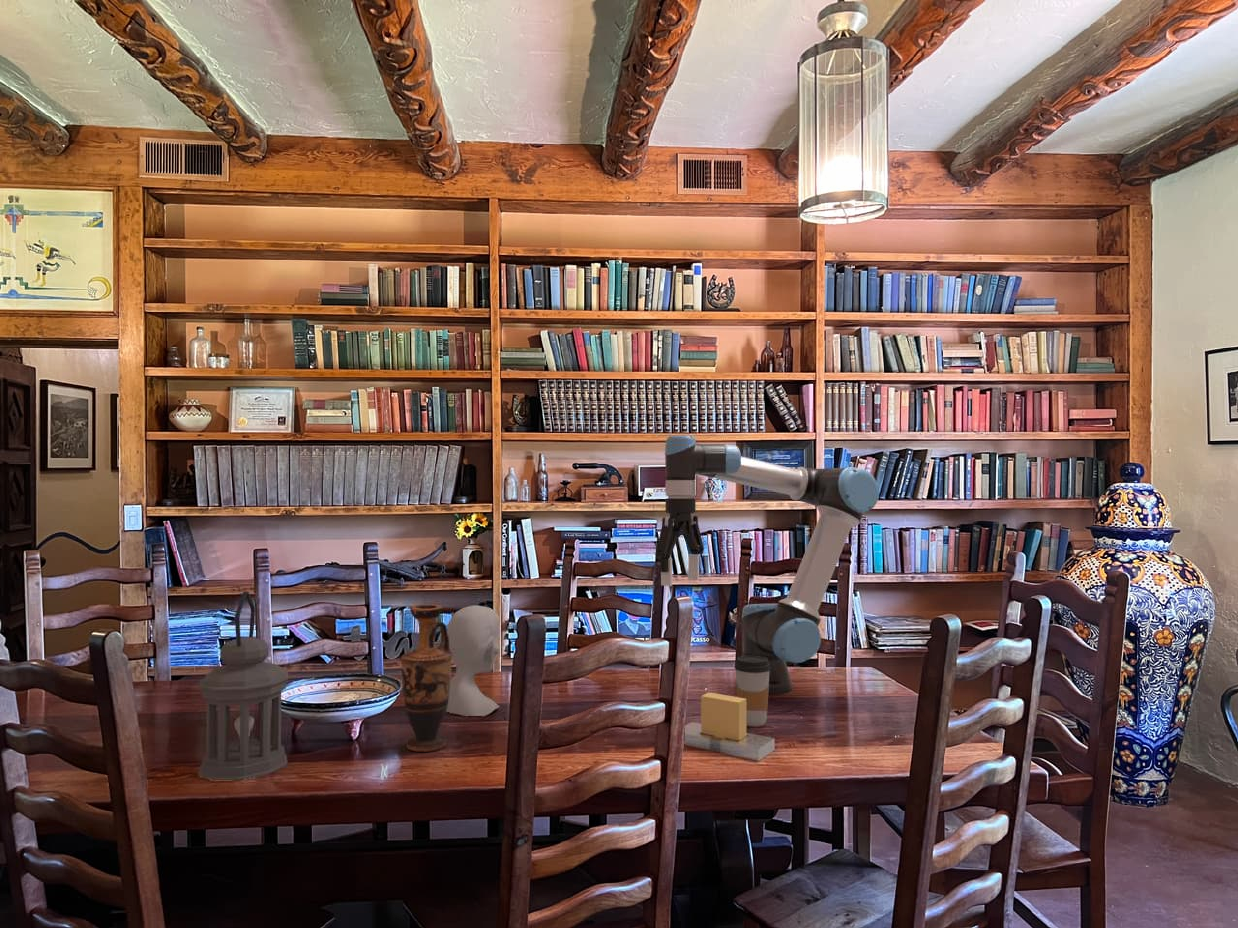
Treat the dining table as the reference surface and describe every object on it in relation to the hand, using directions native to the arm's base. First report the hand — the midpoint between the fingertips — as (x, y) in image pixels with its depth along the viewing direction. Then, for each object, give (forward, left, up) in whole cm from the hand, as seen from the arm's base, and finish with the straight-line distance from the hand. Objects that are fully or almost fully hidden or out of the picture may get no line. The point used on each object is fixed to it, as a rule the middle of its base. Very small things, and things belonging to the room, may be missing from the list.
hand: (680, 582), depth 200 cm
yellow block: (+18, +21, -31) cm, 42 cm away
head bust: (+25, -47, -32) cm, 62 cm away
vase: (+54, -32, -32) cm, 70 cm away
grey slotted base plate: (+18, +21, -32) cm, 42 cm away
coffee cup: (-1, +19, -32) cm, 37 cm away
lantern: (+83, -53, -32) cm, 104 cm away
